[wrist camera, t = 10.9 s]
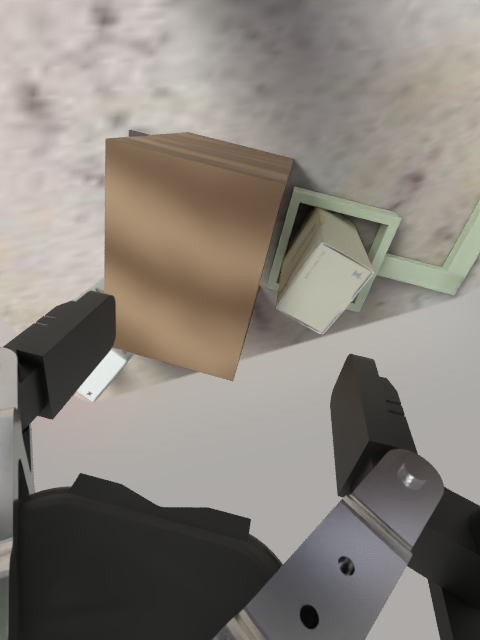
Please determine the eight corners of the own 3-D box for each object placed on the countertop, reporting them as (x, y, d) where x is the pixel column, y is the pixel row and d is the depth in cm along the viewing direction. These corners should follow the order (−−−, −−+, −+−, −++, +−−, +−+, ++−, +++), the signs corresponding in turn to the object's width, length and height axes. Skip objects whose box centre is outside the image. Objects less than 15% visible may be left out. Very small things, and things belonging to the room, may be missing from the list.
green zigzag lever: (320, 92, 29) (326, 78, 20) (540, 145, 28) (647, 156, 19) (268, 278, 37) (257, 326, 29) (434, 322, 37) (475, 385, 28)
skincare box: (317, 200, 33) (322, 235, 22) (356, 224, 33) (378, 270, 23) (282, 254, 36) (271, 308, 26) (318, 276, 36) (322, 337, 26)
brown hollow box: (188, 132, 32) (105, 138, 19) (294, 159, 31) (284, 184, 18) (171, 270, 39) (104, 345, 26) (258, 294, 39) (233, 381, 26)
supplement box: (177, 299, 41) (129, 363, 30) (144, 336, 44) (92, 406, 33) (125, 258, 39) (55, 309, 28) (96, 299, 43) (24, 360, 32)
